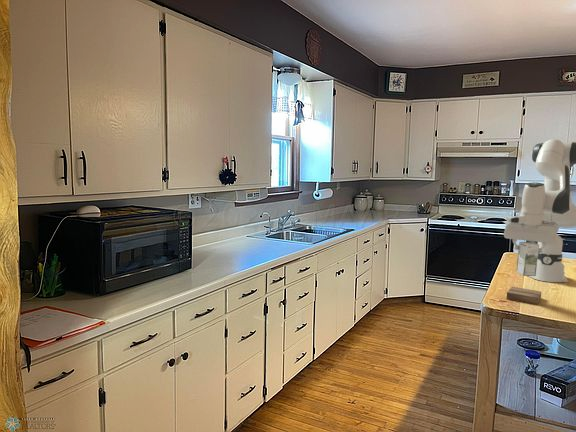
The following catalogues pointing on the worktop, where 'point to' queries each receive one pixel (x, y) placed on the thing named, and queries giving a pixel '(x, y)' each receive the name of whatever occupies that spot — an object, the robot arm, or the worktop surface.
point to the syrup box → (527, 258)
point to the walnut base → (524, 295)
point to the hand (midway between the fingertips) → (528, 250)
